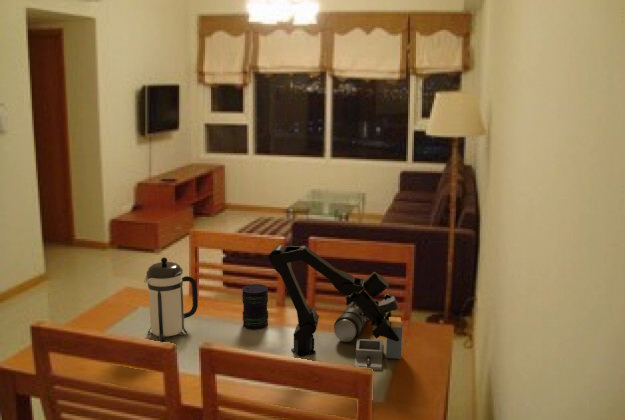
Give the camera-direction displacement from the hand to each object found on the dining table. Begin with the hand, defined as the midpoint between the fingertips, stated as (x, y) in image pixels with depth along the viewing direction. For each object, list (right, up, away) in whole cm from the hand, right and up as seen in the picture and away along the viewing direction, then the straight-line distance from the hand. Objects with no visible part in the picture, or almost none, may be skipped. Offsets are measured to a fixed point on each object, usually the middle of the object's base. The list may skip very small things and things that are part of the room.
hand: (398, 337), depth 204 cm
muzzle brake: (-13, -3, +24) cm, 28 cm away
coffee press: (-83, -3, +20) cm, 85 cm away
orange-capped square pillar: (-1, -6, +2) cm, 7 cm away
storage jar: (-51, -1, +29) cm, 59 cm away
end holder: (-10, -7, +3) cm, 12 cm away
